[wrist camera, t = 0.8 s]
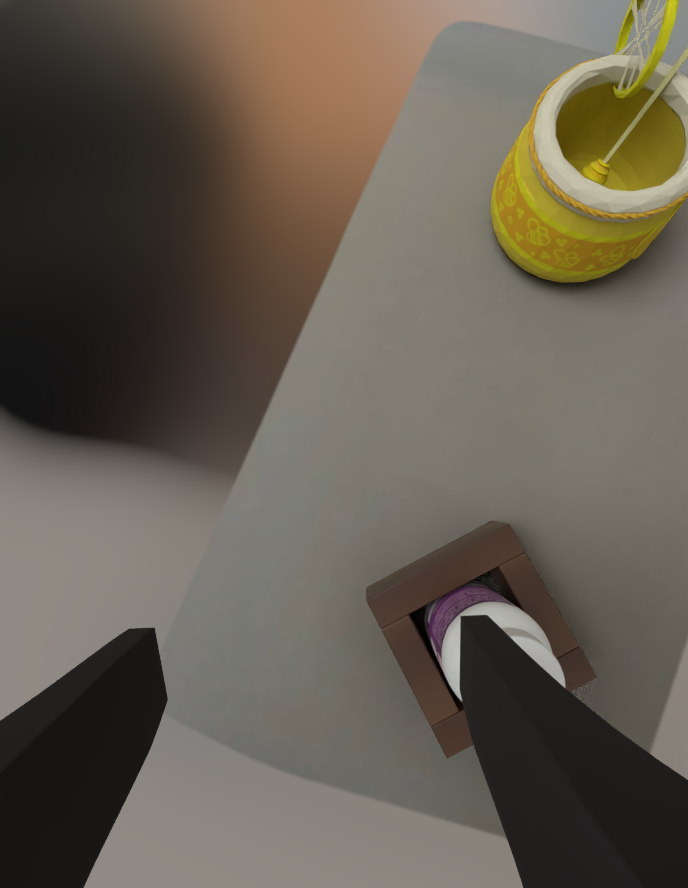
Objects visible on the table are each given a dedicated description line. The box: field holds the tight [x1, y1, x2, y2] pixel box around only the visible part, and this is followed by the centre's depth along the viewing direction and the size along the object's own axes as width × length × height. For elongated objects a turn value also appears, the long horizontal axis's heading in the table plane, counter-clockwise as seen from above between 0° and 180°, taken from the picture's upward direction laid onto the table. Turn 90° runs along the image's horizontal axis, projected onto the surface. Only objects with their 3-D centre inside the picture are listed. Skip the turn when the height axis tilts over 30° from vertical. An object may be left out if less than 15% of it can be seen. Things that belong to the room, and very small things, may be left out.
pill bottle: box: [424, 580, 565, 701], centre depth 23 cm, size 5×5×10 cm
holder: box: [366, 521, 597, 758], centre depth 26 cm, size 9×9×4 cm
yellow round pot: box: [491, 0, 688, 283], centre depth 25 cm, size 13×11×12 cm
